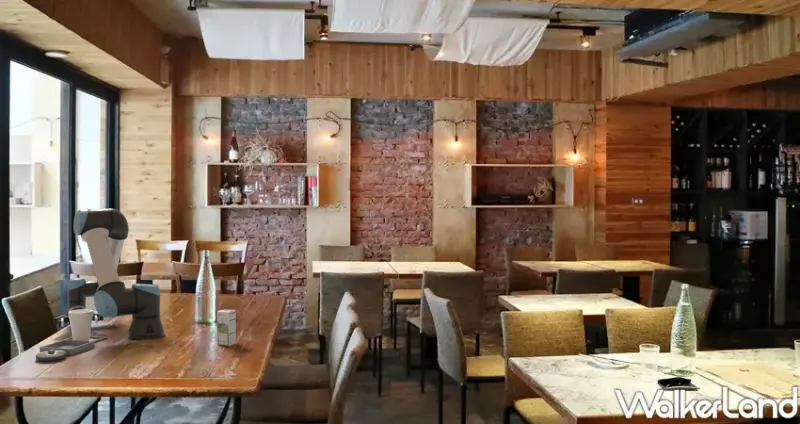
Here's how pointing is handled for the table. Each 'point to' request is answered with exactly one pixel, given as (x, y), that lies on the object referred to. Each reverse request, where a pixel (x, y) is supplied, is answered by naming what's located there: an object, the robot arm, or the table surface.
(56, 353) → the metal pot lid
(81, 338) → the foam cup
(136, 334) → the robot arm
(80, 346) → the tray
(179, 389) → the table surface
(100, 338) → the square wooden frame
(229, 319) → the syrup box
